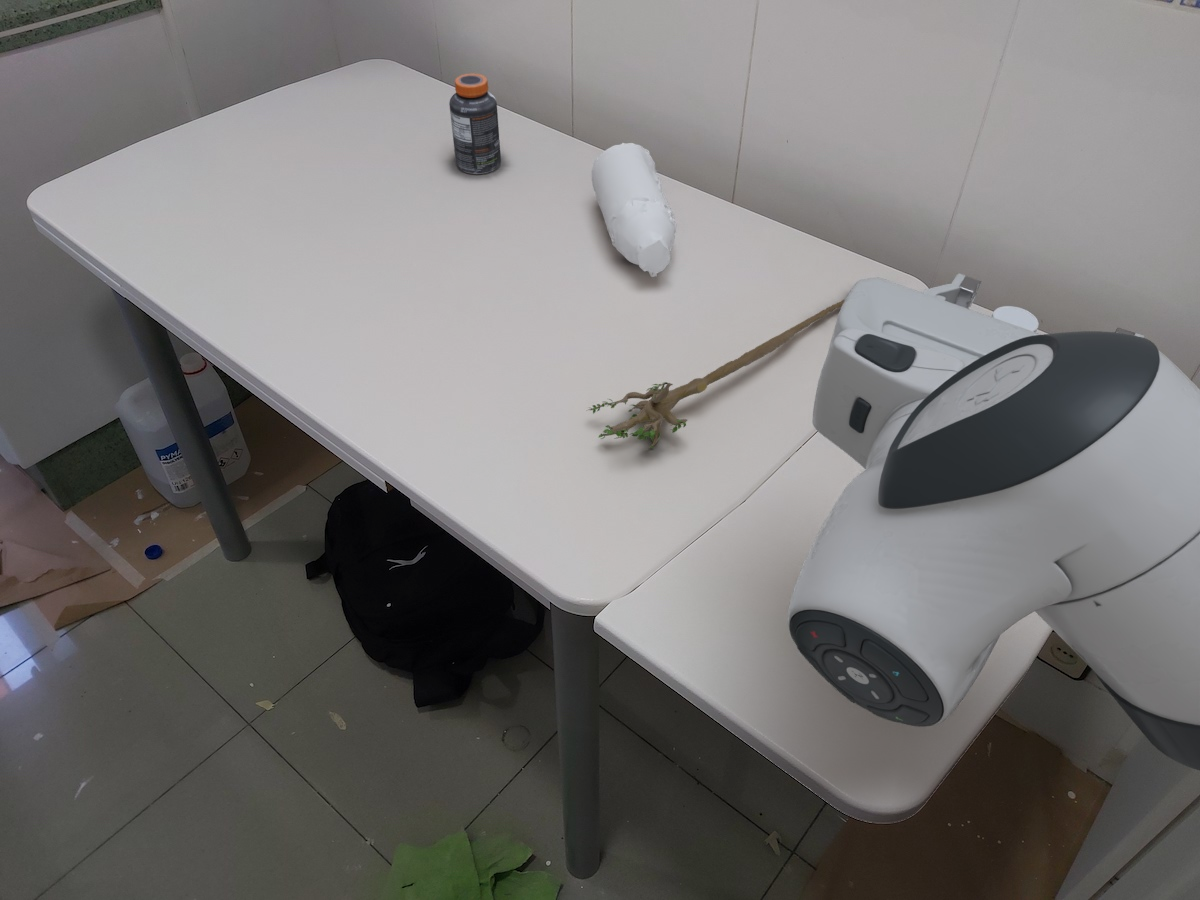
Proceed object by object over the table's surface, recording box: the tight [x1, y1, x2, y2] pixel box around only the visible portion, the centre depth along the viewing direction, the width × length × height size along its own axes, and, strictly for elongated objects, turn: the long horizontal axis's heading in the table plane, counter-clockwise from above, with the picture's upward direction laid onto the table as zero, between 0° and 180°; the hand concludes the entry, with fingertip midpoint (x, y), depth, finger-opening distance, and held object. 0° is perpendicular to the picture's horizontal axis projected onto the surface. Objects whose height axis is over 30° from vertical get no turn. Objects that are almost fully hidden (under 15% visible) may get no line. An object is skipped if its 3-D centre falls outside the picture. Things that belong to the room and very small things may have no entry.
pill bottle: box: [448, 72, 502, 175], centre depth 112 cm, size 6×6×11 cm
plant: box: [585, 298, 846, 451], centre depth 85 cm, size 39×8×8 cm, turn 125°
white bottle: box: [591, 141, 678, 278], centre depth 101 cm, size 8×19×8 cm, turn 9°
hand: (1043, 312), depth 53 cm, fingers open, 8 cm apart
